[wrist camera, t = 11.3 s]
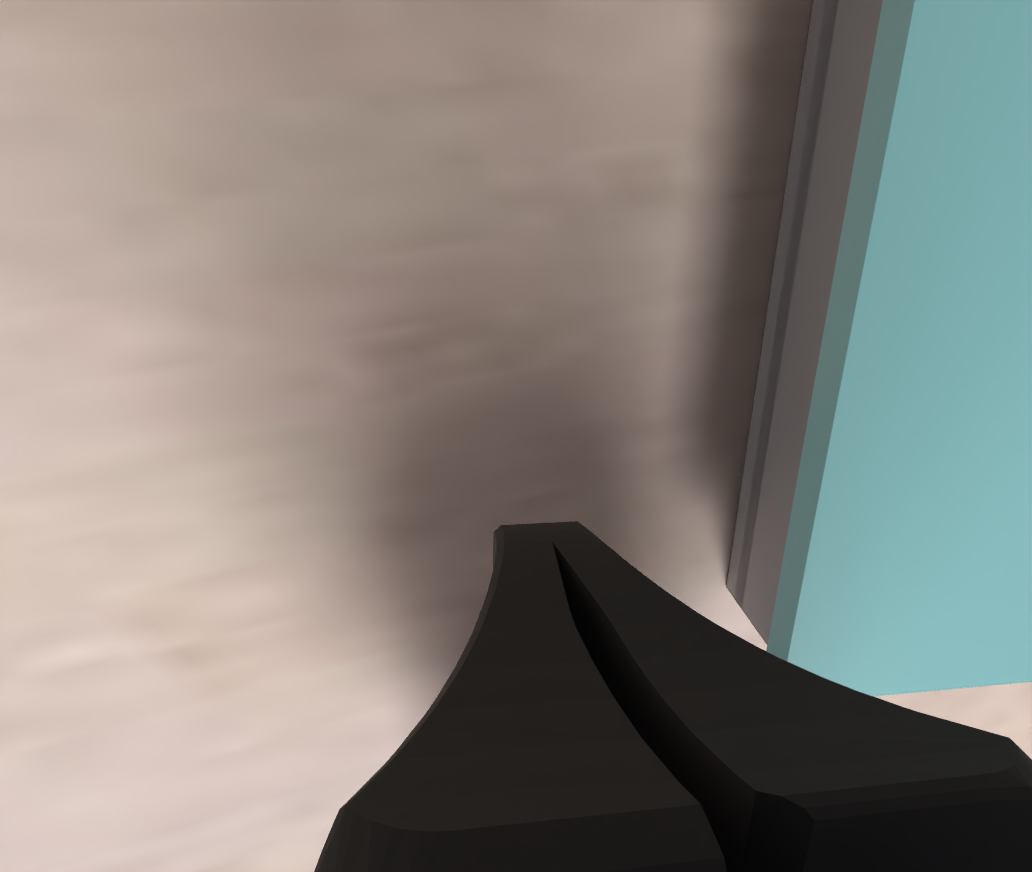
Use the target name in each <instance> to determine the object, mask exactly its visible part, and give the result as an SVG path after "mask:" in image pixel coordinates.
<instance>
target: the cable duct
mask: <svg viewBox="0 0 1032 872" xmlns="http://www.w3.org/2000/svg"><path fill="white" fill-rule="evenodd" d="M882 2H883V0H813V4H812V11H811V17H810V24H809V31H808V38H807V45H806V51H805V58H804V65H803V72H802V78H801V85H800V92H799V99H798V105H797V112H796V119H795V126H794V133H793V139H792V146H791V153H790V160H789V166H788V173H787V180H786V187H785V193H784V200H783V207H782V214H781V221H780V227H779V234H778V241H777V248H776V254H775V261H774V268H773V275H772V282H771V288H770V295H769V302H768V309H767V315H766V322H765V329H764V336H763V342H762V349H761V356H760V363H759V370H758V376H757V383H756V390H755V397H754V403H753V410H752V417H751V424H750V430H749V437H748V444H747V451H746V458H745V464H744V471H743V478H742V485H741V491H740V498H739V505H738V512H737V518H736V525H735V532H734V539H733V546H732V552H731V559H730V566H729V573H728V579H727V586H726V588H727V589H728V590H729V592H730V593H731V595H732V596H733V597H734V599H735V600H736V602H737V603H738V605H739V606H740V607H741V609H742V610H743V612H744V613H745V614H746V616H747V617H748V619H749V620H750V622H751V623H752V624H753V626H754V627H755V629H756V630H757V631H758V633H759V634H760V636H761V637H762V638H763V640H764V641H765V643H766V644H767V645H768V640H769V634H770V628H771V623H772V617H773V612H774V606H775V601H776V595H777V589H778V584H779V578H780V573H781V567H782V561H783V556H784V550H785V545H786V539H787V533H788V528H789V522H790V517H791V511H792V505H793V500H794V494H795V489H796V483H797V478H798V472H799V466H800V461H801V455H802V450H803V444H804V438H805V433H806V427H807V422H808V416H809V410H810V405H811V399H812V394H813V388H814V382H815V377H816V371H817V366H818V360H819V354H820V349H821V343H822V338H823V332H824V327H825V321H826V315H827V310H828V304H829V299H830V293H831V287H832V282H833V276H834V271H835V265H836V259H837V254H838V248H839V243H840V237H841V231H842V226H843V220H844V215H845V209H846V204H847V198H848V192H849V187H850V181H851V176H852V170H853V164H854V159H855V153H856V148H857V142H858V136H859V131H860V125H861V120H862V114H863V108H864V103H865V97H866V92H867V86H868V81H869V75H870V69H871V64H872V58H873V53H874V47H875V41H876V36H877V30H878V25H879V19H880V13H881V8H882Z"/></svg>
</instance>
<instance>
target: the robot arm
mask: <svg viewBox="0 0 1032 872" xmlns="http://www.w3.org/2000/svg"><path fill="white" fill-rule="evenodd" d="M314 872H1032V760H1031V759H1030V758H1029V757H1028V756H1027V755H1026V754H1025V753H1024V752H1023V751H1022V750H1021V749H1020V748H1019V747H1018V746H1017V745H1016V744H1015V743H1014V742H1013V741H1012V740H1011V739H1010V738H1008V737H1004V736H1001V735H997V734H994V733H990V732H987V731H983V730H980V729H976V728H972V727H969V726H965V725H962V724H958V723H955V722H951V721H948V720H944V719H941V718H937V717H934V716H930V715H927V714H923V713H920V712H916V711H913V710H910V709H907V708H904V707H901V706H898V705H895V704H893V703H890V702H887V701H884V700H881V699H879V698H876V697H873V696H870V695H867V694H864V693H862V692H859V691H856V690H853V689H851V688H848V687H846V686H843V685H841V684H838V683H836V682H833V681H831V680H828V679H826V678H823V677H821V676H819V675H816V674H814V673H812V672H810V671H807V670H805V669H803V668H801V667H798V666H796V665H794V664H792V663H790V662H787V661H785V660H783V659H781V658H778V657H776V656H774V655H772V654H770V653H768V652H766V651H764V650H762V649H760V648H758V647H756V646H754V645H753V644H751V643H749V642H747V641H745V640H744V639H742V638H740V637H738V636H736V635H735V634H733V633H731V632H729V631H727V630H726V629H724V628H722V627H720V626H718V625H717V624H715V623H713V622H712V621H710V620H708V619H707V618H705V617H704V616H702V615H700V614H699V613H697V612H696V611H694V610H693V609H691V608H690V607H688V606H687V605H685V604H684V603H682V602H681V601H679V600H678V599H676V598H675V597H673V596H672V595H670V594H669V593H668V592H666V591H665V590H664V589H662V588H661V587H659V586H658V585H657V584H655V583H654V582H653V581H651V580H650V579H649V578H647V577H646V576H645V575H643V574H642V573H641V572H639V571H638V570H637V569H636V568H634V567H633V566H632V565H630V564H629V563H628V562H627V561H626V560H624V559H623V558H622V557H621V556H619V555H618V554H617V553H616V552H614V551H613V550H612V549H611V548H610V547H608V546H607V545H606V544H605V543H604V542H602V541H601V540H600V539H599V538H598V537H596V536H595V535H594V534H593V533H592V532H590V531H589V530H588V529H587V528H585V527H584V526H583V525H582V524H580V523H579V522H577V521H576V522H556V523H537V524H517V525H501V526H500V527H499V528H498V529H497V530H495V531H494V549H493V574H492V577H491V581H490V585H489V589H488V593H487V596H486V599H485V602H484V605H483V607H482V610H481V612H480V615H479V618H478V620H477V623H476V626H475V628H474V630H473V633H472V635H471V637H470V639H469V641H468V644H467V646H466V648H465V650H464V652H463V654H462V656H461V657H460V659H459V661H458V663H457V665H456V667H455V669H454V670H453V672H452V674H451V675H450V677H449V679H448V680H447V682H446V684H445V685H444V687H443V688H442V690H441V692H440V693H439V695H438V697H437V698H436V700H435V701H434V702H433V704H432V705H431V707H430V708H429V710H428V711H427V713H426V714H425V715H424V717H423V718H422V719H421V720H420V722H419V723H418V724H417V725H416V727H415V728H414V729H413V730H412V732H411V733H410V734H409V735H408V737H407V738H406V739H405V741H404V742H403V743H402V744H401V746H400V747H399V748H398V749H397V751H396V752H395V753H394V754H393V755H392V756H391V758H390V759H389V760H388V761H387V762H386V763H385V764H384V765H383V766H382V767H381V768H380V769H379V770H378V771H377V772H376V773H375V774H374V775H373V776H372V778H371V779H370V780H369V781H368V782H367V783H366V784H365V785H364V786H363V787H362V788H361V789H360V790H359V791H358V792H357V793H356V794H355V795H354V796H353V797H352V798H351V799H350V800H349V801H348V802H347V803H346V804H345V805H344V806H343V807H342V808H340V810H339V812H338V814H337V816H336V819H335V821H334V823H333V826H332V828H331V831H330V833H329V835H328V838H327V840H326V843H325V845H324V847H323V850H322V852H321V855H320V858H319V860H318V863H317V866H316V868H315V871H314Z"/></svg>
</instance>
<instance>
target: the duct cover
mask: <svg viewBox="0 0 1032 872" xmlns="http://www.w3.org/2000/svg"><path fill="white" fill-rule="evenodd" d="M766 652H768V653H770V654H772V655H774V656H776V657H778V658H781V659H783V660H785V661H787V662H790V663H792V664H794V665H796V666H798V667H801V668H803V669H805V670H807V671H810V672H812V673H814V674H816V675H819V676H821V677H823V678H826V679H828V680H831V681H833V682H836V683H838V684H841V685H843V686H846V687H848V688H851V689H853V690H856V691H859V692H862V693H864V694H867V695H870V696H882V695H893V694H904V693H915V692H926V691H936V690H947V689H958V688H969V687H980V686H991V685H1001V684H1012V683H1023V682H1032V0H883V2H882V8H881V13H880V19H879V25H878V30H877V36H876V41H875V47H874V53H873V58H872V64H871V69H870V75H869V81H868V86H867V92H866V97H865V103H864V108H863V114H862V120H861V125H860V131H859V136H858V142H857V148H856V153H855V159H854V164H853V170H852V176H851V181H850V187H849V192H848V198H847V204H846V209H845V215H844V220H843V226H842V231H841V237H840V243H839V248H838V254H837V259H836V265H835V271H834V276H833V282H832V287H831V293H830V299H829V304H828V310H827V315H826V321H825V327H824V332H823V338H822V343H821V349H820V354H819V360H818V366H817V371H816V377H815V382H814V388H813V394H812V399H811V405H810V410H809V416H808V422H807V427H806V433H805V438H804V444H803V450H802V455H801V461H800V466H799V472H798V478H797V483H796V489H795V494H794V500H793V505H792V511H791V517H790V522H789V528H788V533H787V539H786V545H785V550H784V556H783V561H782V567H781V573H780V578H779V584H778V589H777V595H776V601H775V606H774V612H773V617H772V623H771V628H770V634H769V640H768V645H767V651H766Z"/></svg>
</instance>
